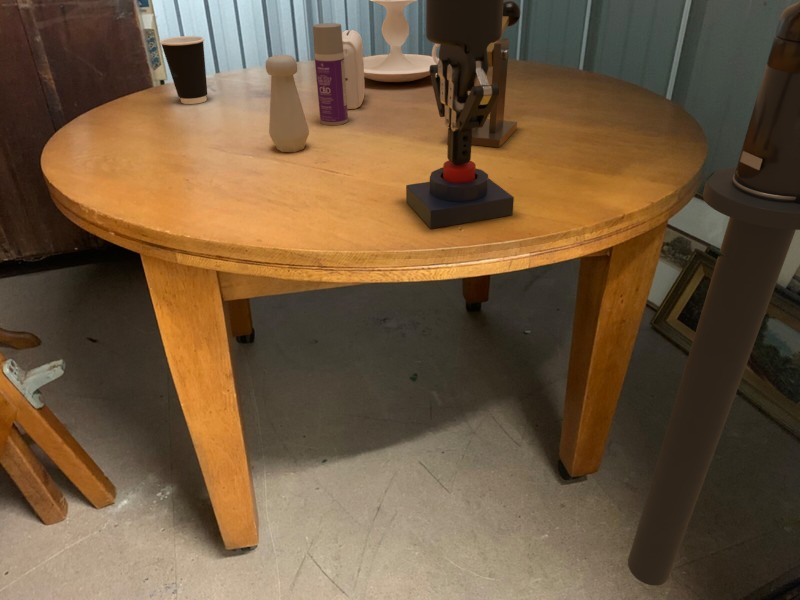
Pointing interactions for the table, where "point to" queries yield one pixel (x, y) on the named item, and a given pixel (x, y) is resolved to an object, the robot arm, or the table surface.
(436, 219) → the button housing
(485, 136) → the lever stand
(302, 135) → the salt shaker
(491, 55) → the lock lever
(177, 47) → the dixie cup
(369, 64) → the candlestick
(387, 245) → the table surface
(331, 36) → the container
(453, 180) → the release button
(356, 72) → the photo printer
